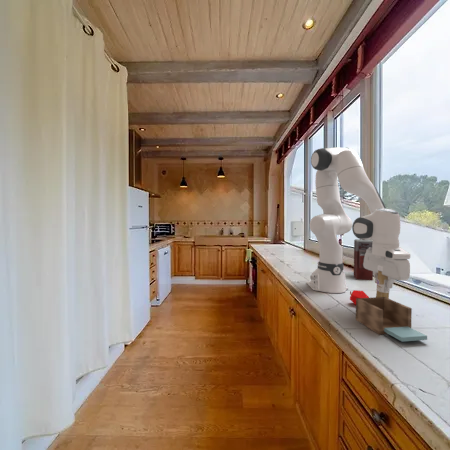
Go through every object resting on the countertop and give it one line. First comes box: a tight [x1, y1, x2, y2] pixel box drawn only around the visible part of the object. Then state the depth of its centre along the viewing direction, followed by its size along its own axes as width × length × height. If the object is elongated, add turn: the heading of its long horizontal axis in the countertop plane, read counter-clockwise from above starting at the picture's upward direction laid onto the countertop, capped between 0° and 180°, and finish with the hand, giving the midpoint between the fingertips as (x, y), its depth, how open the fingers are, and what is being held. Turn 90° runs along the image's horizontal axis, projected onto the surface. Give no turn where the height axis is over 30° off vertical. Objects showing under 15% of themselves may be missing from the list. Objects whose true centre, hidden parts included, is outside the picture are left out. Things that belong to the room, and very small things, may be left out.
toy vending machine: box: [353, 238, 374, 281], centre depth 158 cm, size 9×11×28 cm
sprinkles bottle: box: [375, 265, 391, 299], centre depth 102 cm, size 5×5×13 cm
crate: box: [355, 296, 413, 335], centre depth 90 cm, size 12×11×8 cm
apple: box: [349, 289, 370, 306], centre depth 112 cm, size 7×7×8 cm
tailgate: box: [384, 326, 428, 342], centre depth 81 cm, size 1×8×7 cm
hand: (383, 285), depth 102 cm, fingers closed on sprinkles bottle, 4 cm apart
